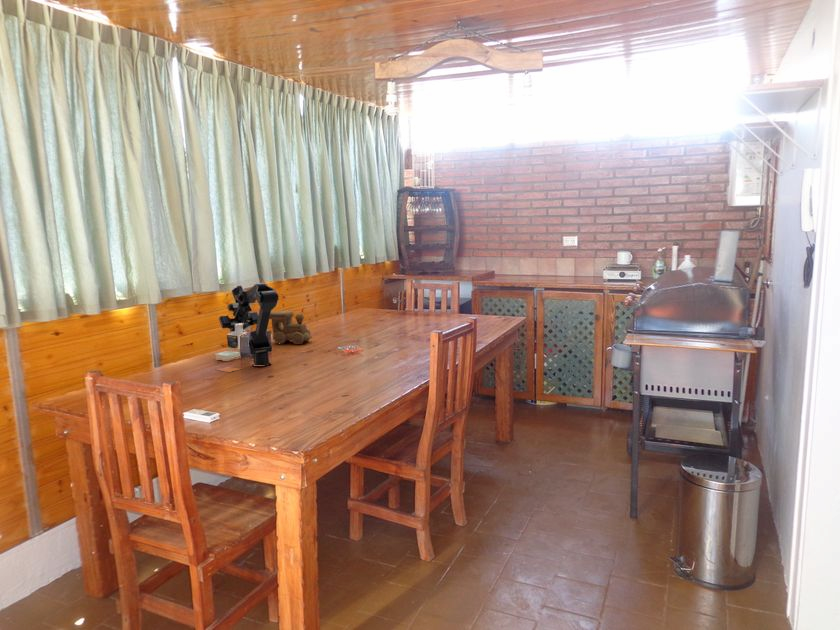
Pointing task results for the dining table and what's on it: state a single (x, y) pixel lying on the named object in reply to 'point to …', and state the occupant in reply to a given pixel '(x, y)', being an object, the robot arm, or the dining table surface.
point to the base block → (227, 354)
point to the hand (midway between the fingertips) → (236, 330)
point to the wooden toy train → (289, 327)
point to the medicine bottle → (235, 336)
